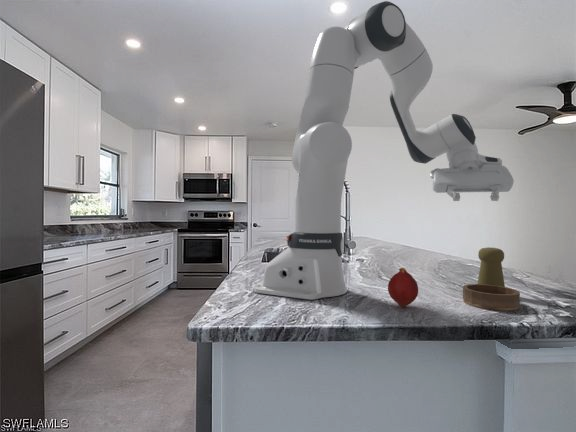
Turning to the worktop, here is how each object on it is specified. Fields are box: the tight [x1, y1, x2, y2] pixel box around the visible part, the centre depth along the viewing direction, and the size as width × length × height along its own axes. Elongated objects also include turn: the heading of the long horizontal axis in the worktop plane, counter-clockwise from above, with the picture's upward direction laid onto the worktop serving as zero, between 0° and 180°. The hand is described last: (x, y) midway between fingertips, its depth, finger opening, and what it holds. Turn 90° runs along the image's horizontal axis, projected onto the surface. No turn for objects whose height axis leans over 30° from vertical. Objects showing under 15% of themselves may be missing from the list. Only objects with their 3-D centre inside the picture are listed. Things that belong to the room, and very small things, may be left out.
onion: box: [387, 267, 419, 308], centre depth 66 cm, size 6×6×8 cm
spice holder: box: [462, 283, 521, 312], centre depth 68 cm, size 10×10×3 cm
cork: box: [476, 246, 506, 287], centre depth 77 cm, size 6×6×11 cm
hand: (476, 199), depth 88 cm, fingers open, 8 cm apart
